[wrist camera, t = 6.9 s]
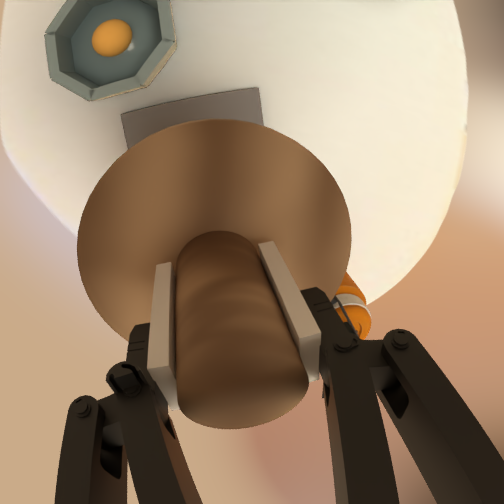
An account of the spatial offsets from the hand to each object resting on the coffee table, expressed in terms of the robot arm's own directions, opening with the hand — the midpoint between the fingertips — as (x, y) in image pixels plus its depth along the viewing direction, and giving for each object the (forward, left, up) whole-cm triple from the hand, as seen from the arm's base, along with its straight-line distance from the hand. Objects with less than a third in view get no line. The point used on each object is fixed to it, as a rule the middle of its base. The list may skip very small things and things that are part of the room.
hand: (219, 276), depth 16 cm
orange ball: (+7, -17, -21) cm, 28 cm away
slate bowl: (+7, -17, -24) cm, 31 cm away
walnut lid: (0, 0, -2) cm, 2 cm away
